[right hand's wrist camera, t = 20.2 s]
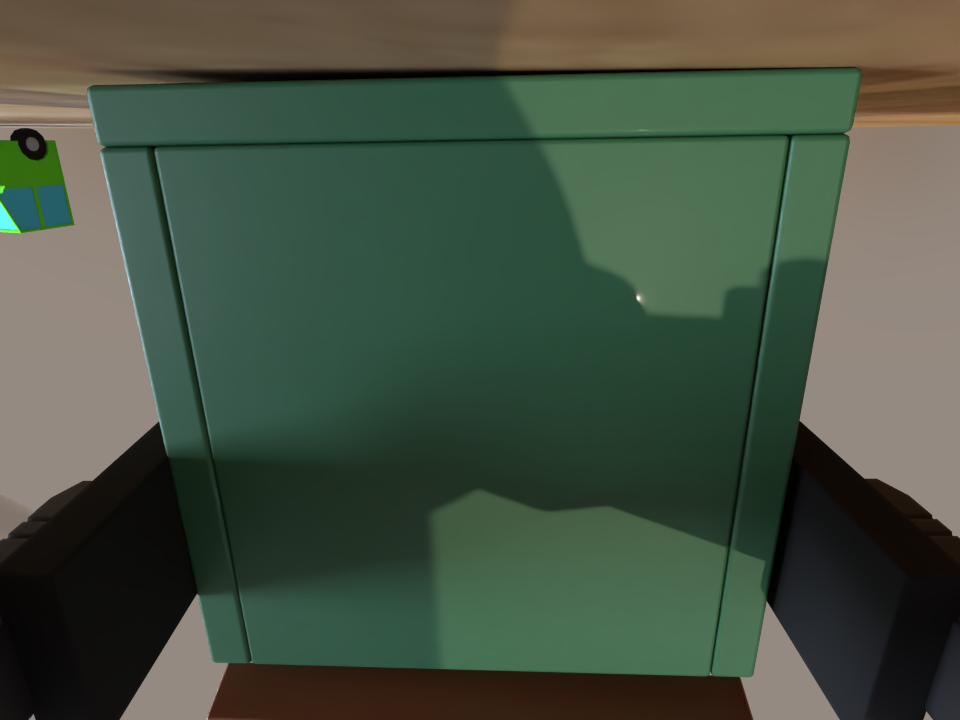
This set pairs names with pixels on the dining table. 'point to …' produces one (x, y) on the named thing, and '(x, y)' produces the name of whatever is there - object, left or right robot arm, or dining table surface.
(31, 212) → the toy car
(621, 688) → the lid
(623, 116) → the chest
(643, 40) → the dining table surface
